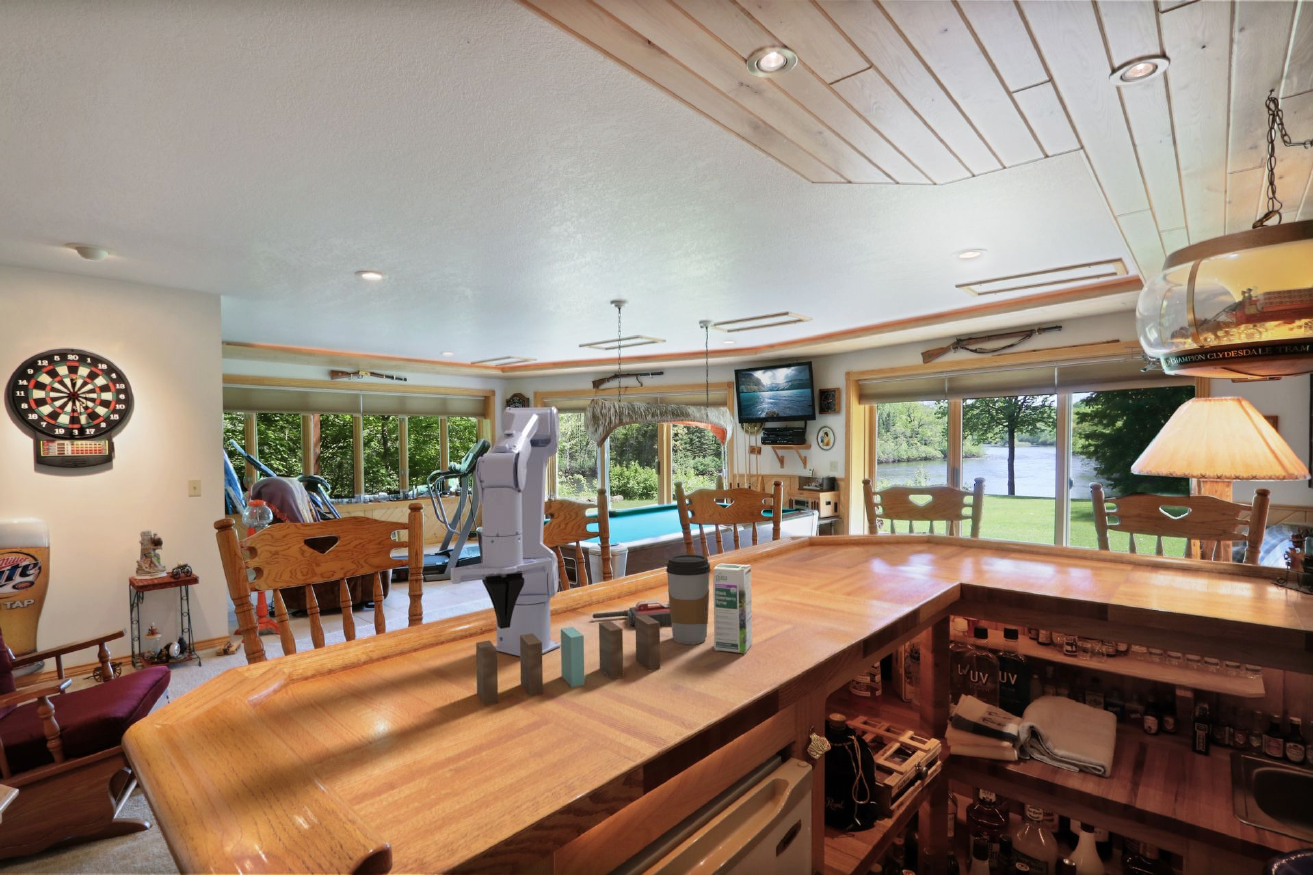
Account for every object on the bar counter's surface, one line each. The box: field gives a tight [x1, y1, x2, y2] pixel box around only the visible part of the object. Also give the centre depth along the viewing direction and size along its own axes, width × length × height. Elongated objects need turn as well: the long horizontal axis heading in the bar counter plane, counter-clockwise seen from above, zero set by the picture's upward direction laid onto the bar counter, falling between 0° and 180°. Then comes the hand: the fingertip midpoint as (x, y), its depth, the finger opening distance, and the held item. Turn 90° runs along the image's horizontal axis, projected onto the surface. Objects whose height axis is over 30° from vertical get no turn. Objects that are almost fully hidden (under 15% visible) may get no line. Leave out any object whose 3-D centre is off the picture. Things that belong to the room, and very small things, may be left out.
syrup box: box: [712, 563, 753, 655], centre depth 108 cm, size 6×6×14 cm
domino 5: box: [635, 615, 661, 672], centre depth 100 cm, size 2×5×8 cm, turn 27°
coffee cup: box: [665, 554, 712, 645], centre depth 112 cm, size 8×8×15 cm
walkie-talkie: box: [592, 600, 672, 629], centre depth 124 cm, size 9×4×20 cm
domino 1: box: [475, 639, 499, 707], centre depth 88 cm, size 2×5×8 cm, turn 27°
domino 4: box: [598, 620, 624, 680], centre depth 97 cm, size 2×5×8 cm, turn 27°
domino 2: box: [519, 633, 544, 697], centre depth 91 cm, size 2×5×8 cm, turn 27°
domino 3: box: [560, 626, 585, 688], centre depth 94 cm, size 2×5×8 cm, turn 27°
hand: (503, 626), depth 89 cm, fingers closed
